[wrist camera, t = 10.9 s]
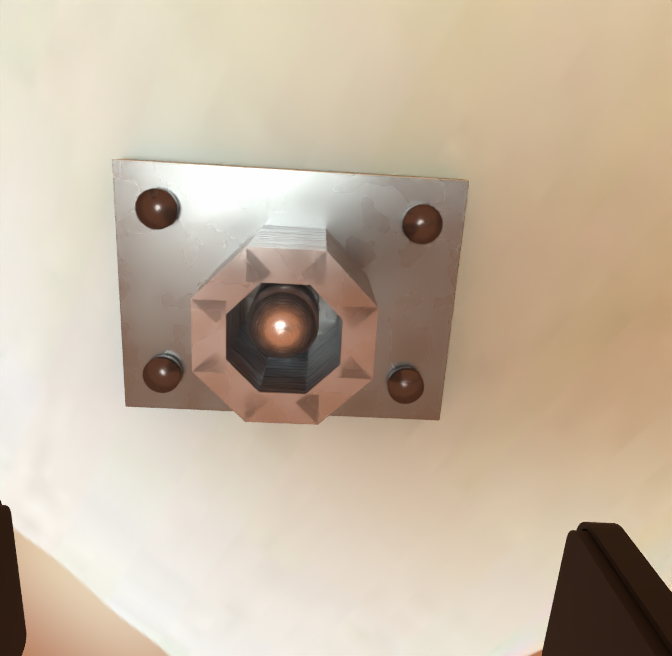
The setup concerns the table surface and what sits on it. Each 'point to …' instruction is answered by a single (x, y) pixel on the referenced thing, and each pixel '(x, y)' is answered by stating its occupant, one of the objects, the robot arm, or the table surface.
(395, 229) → the shaft block
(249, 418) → the hub ring
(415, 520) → the table surface
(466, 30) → the table surface
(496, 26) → the table surface
